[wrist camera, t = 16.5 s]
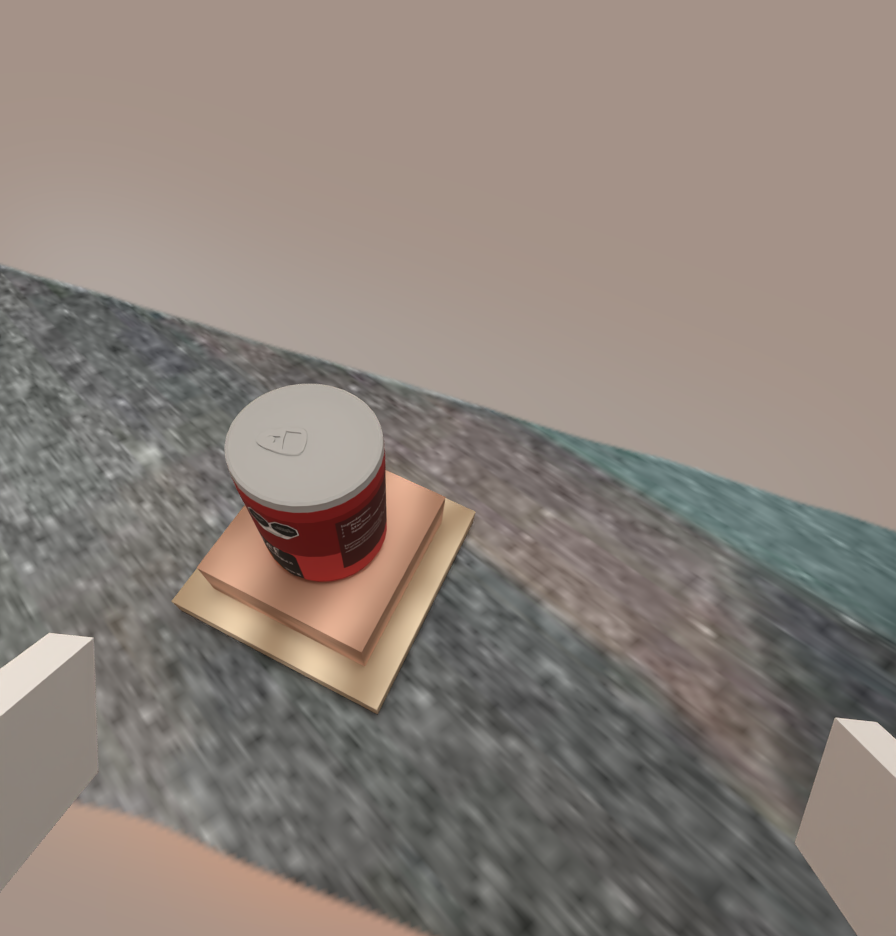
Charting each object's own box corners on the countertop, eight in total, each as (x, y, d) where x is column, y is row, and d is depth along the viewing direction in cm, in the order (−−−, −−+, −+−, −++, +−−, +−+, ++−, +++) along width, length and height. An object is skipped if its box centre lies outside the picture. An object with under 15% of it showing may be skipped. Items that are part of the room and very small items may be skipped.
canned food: (262, 493, 38) (220, 392, 29) (377, 474, 40) (371, 372, 31) (271, 598, 35) (225, 520, 25) (397, 573, 36) (397, 491, 27)
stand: (472, 522, 45) (482, 486, 40) (377, 714, 37) (374, 699, 32) (303, 446, 48) (292, 403, 43) (181, 610, 40) (149, 581, 35)
